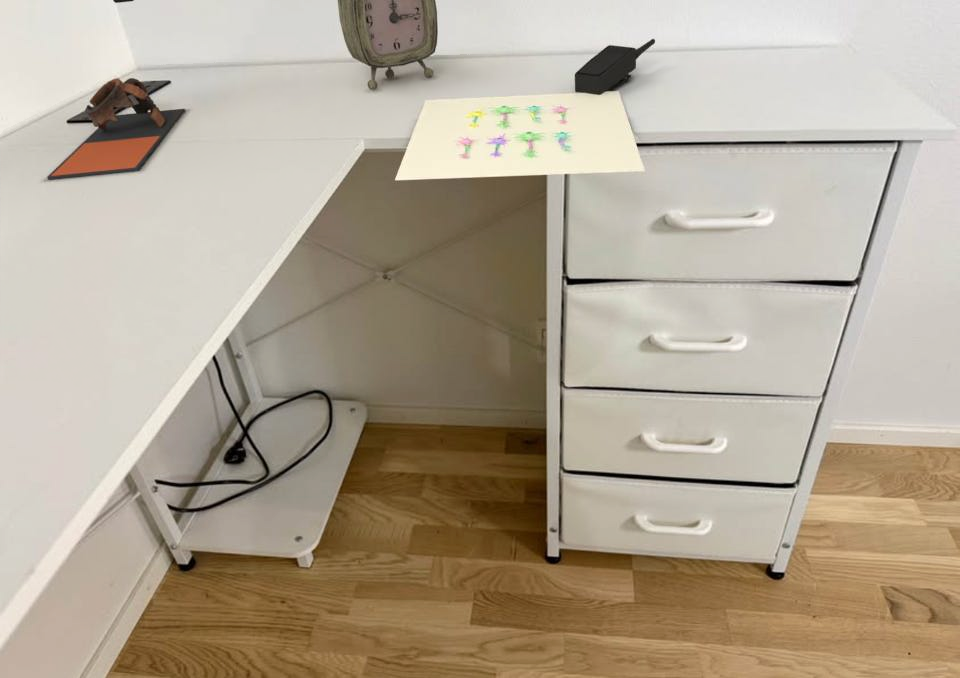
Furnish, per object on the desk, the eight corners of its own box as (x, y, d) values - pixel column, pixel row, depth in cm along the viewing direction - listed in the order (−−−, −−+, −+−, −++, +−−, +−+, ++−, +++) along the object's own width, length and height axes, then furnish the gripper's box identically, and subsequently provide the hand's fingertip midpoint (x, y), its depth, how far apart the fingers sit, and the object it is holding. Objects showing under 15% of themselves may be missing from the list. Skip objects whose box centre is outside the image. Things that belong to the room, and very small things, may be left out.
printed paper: (425, 102, 106) (424, 92, 106) (618, 93, 104) (619, 83, 103) (395, 182, 83) (393, 171, 82) (644, 173, 80) (645, 161, 79)
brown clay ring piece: (164, 136, 103) (117, 94, 97) (120, 165, 106) (72, 127, 100) (176, 93, 110) (133, 52, 104) (135, 121, 113) (90, 83, 107)
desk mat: (48, 179, 91) (46, 176, 91) (111, 118, 112) (110, 115, 112) (138, 170, 92) (137, 167, 91) (185, 110, 113) (184, 108, 112)
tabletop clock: (366, 95, 113) (338, -80, 98) (347, 83, 120) (318, -82, 105) (443, 78, 119) (427, -91, 104) (420, 67, 125) (402, -92, 110)
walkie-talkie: (562, 81, 105) (623, 38, 116) (587, 112, 106) (645, 67, 117) (586, 55, 100) (647, 13, 111) (612, 88, 101) (670, 43, 112)
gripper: (69, -139, 103) (117, -5, 114) (27, -136, 91) (85, 12, 102) (119, -143, 103) (162, -10, 114) (84, -142, 91) (135, 7, 102)
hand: (125, 0), depth 108 cm, fingers closed
